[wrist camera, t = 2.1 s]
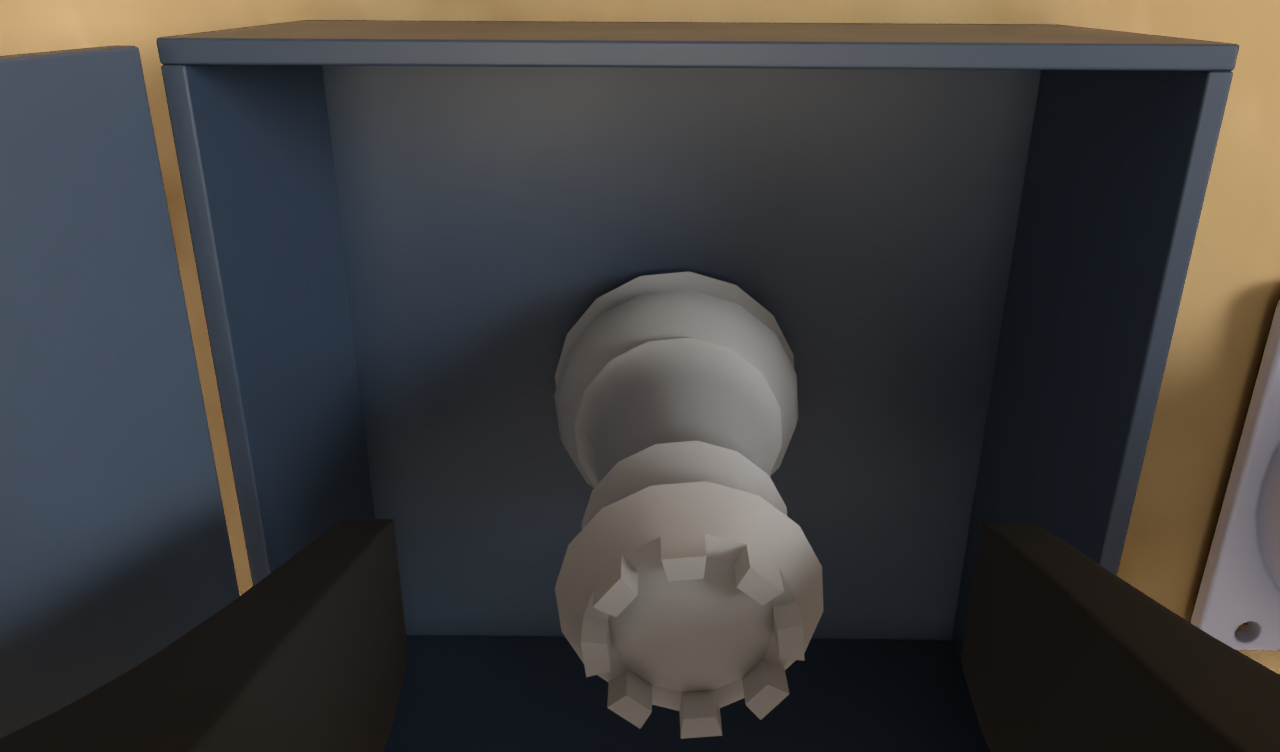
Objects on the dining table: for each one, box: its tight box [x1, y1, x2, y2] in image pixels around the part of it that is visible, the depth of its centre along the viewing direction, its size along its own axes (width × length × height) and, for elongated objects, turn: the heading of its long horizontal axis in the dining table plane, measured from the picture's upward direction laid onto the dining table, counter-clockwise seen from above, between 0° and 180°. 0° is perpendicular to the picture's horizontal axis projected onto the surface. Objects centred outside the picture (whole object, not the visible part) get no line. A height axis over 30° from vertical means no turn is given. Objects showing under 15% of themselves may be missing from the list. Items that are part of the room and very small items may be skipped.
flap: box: [0, 46, 240, 738], centre depth 10 cm, size 6×12×1 cm
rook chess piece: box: [554, 271, 824, 739], centre depth 14 cm, size 4×4×8 cm
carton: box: [157, 20, 1239, 752], centre depth 16 cm, size 13×13×5 cm
